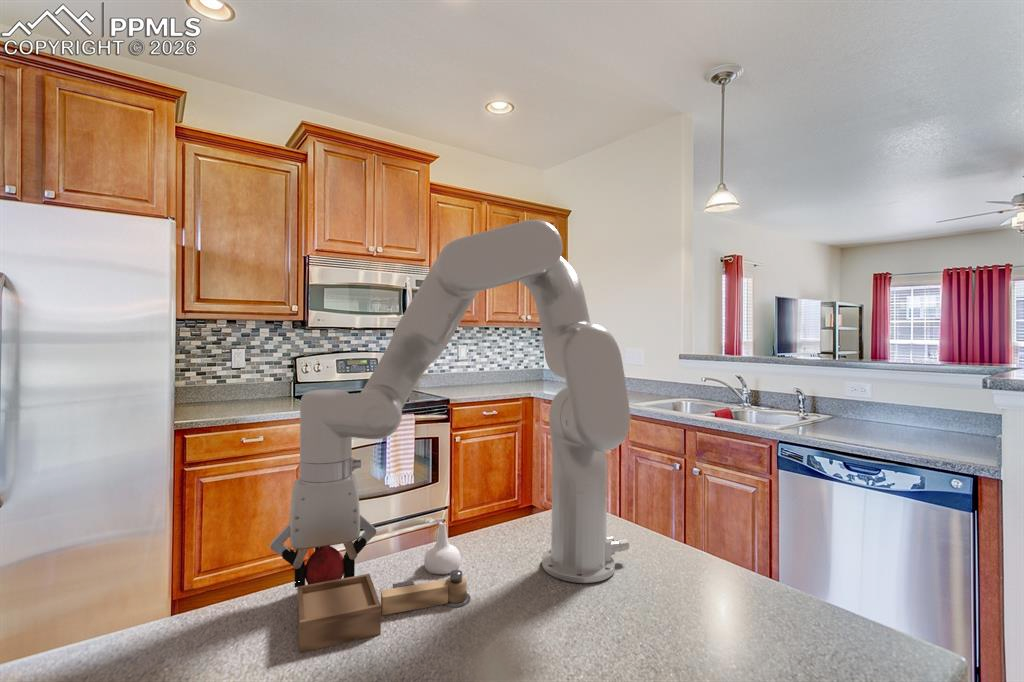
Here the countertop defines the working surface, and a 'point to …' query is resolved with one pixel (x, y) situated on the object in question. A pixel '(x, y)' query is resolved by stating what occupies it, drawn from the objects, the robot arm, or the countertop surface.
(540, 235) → the robot arm
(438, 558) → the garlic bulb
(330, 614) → the wooden tray
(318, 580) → the onion
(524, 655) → the countertop surface
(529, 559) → the countertop surface
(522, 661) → the countertop surface
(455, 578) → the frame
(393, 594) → the leg
